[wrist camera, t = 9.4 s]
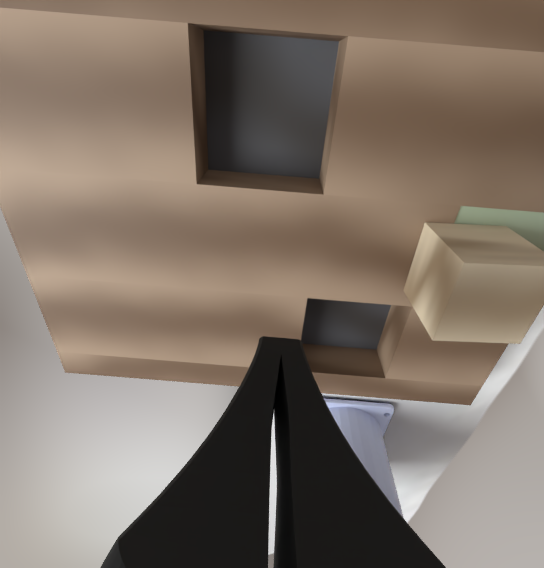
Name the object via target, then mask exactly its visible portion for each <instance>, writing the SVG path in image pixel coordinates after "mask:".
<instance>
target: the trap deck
mask: <svg viewBox="0 0 544 568" xmlns="http://www.w3.org/2000/svg"><path fill="white" fill-rule="evenodd" d="M0 207H1V210H2V212H3V215H4V217H5V220H6V223H7V225H8V227H9V230H10V233H11V235H12V238H13V240H14V243H15V246H16V248H17V250H18V253H19V256H20V258H21V261H22V263H23V266H24V268H25V271H26V273H27V276H28V278H29V281H30V284H31V286H32V288H33V291H34V294H35V296H36V299H37V301H38V304H39V307H40V309H41V312H42V314H43V317H44V319H45V322H46V324H47V327H48V329H49V332H50V335H51V337H52V340H53V342H54V345H55V347H56V350H57V352H58V355H59V357H60V359H61V363H62V365H63V368H64V370H65V372H67V373H79V374H91V375H104V376H117V377H129V378H141V379H154V380H166V381H178V382H190V383H203V384H215V385H227V386H240V385H241V383H242V381H243V379H244V377H245V375H246V373H247V371H248V369H249V367H250V365H251V362H252V360H253V358H254V355H255V352H256V349H257V346H258V343H259V338H261V337H262V336H267V337H278V338H290V339H299V340H300V341H301V342H302V344H303V348H304V352H305V355H306V358H307V361H308V363H309V366H310V369H311V371H312V374H313V376H314V378H315V381H316V383H317V385H318V387H319V390H320V392H321V393H326V394H339V395H351V396H364V397H376V398H388V399H401V400H413V401H425V402H438V403H450V404H463V405H471V403H472V402H473V400H474V399H475V397H476V395H477V394H478V392H479V390H480V389H481V387H482V386H483V384H484V382H485V381H486V379H487V378H488V376H489V374H490V373H491V371H492V370H493V368H494V366H495V365H496V363H497V361H498V360H499V358H500V357H501V355H502V353H503V352H504V350H505V349H506V347H507V345H508V344H509V343H487V342H460V341H433V340H432V339H431V337H430V335H429V334H428V332H427V330H426V329H425V327H424V325H423V323H422V322H421V320H420V318H419V317H418V315H417V313H416V311H415V310H414V308H413V306H412V305H411V303H410V301H409V299H408V298H407V296H406V294H405V293H404V291H403V290H404V287H405V284H406V281H407V277H408V274H409V271H410V268H411V265H412V261H413V258H414V255H415V252H416V249H417V246H418V242H419V239H420V236H421V233H422V230H423V227H424V223H425V222H427V223H450V224H472V225H495V226H507V227H508V228H510V229H511V230H513V231H514V232H516V233H517V234H519V235H520V236H521V237H523V238H524V239H526V240H527V241H529V242H530V243H532V244H533V245H535V246H536V247H538V248H539V249H541V250H542V251H544V0H0Z"/></svg>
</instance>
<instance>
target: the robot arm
mask: <svg viewBox="0 0 544 568" xmlns="http://www.w3.org/2000/svg"><path fill="white" fill-rule="evenodd" d="M273 413H274V417H275V442H276V466H277V502H276V526H275V548H274V568H446V567H445V566H444V565H443V564H442V563H441V561H440V560H439V559H438V558H437V557H436V556H435V555H434V554H433V552H432V551H431V550H430V549H429V548H428V547H427V546H426V545H425V544H424V542H423V541H422V540H421V539H420V538H419V536H418V535H417V534H416V533H415V532H414V531H413V529H412V528H411V527H410V526H409V525H408V524H407V522H406V521H405V520H404V518H403V514H402V510H401V506H400V502H399V499H398V495H397V491H396V487H395V483H394V479H393V475H392V471H391V467H390V463H389V459H388V456H387V452H386V448H385V444H384V440H383V436H384V434H385V431H386V429H387V427H388V424H389V422H390V420H391V417H392V415H393V413H394V407H393V405H391V404H387V403H374V402H362V401H349V400H337V399H325V398H323V396H322V394H321V392H320V390H319V387H318V385H317V383H316V381H315V378H314V376H313V374H312V371H311V369H310V366H309V363H308V361H307V358H306V355H305V352H304V348H303V344H302V342H301V341H300V340H299V339H290V338H278V337H267V336H262V337H261V338H259V343H258V346H257V349H256V352H255V355H254V358H253V360H252V362H251V365H250V367H249V369H248V371H247V373H246V375H245V377H244V379H243V381H242V383H241V385H240V387H239V388H238V390H237V392H236V394H235V395H234V397H233V399H232V400H231V402H230V404H229V405H228V407H227V409H226V411H225V412H224V413H223V415H222V417H221V418H220V420H219V421H218V422H217V424H216V425H215V427H214V428H213V430H212V431H211V433H210V434H209V435H208V437H207V438H206V439H205V441H204V442H203V443H202V444H201V446H200V447H199V448H198V450H197V451H196V452H195V454H194V455H193V456H192V458H191V459H190V460H189V461H188V462H187V464H186V465H185V466H184V467H183V468H182V470H181V471H180V472H179V473H178V474H177V475H176V477H175V478H174V479H173V480H172V481H171V482H170V483H169V484H168V486H167V487H166V488H165V489H164V490H163V492H162V493H161V494H160V495H159V496H158V497H157V498H156V499H155V500H154V501H153V502H152V503H151V504H150V505H149V506H148V507H147V509H146V510H145V511H143V512H142V514H141V515H140V516H139V517H138V518H137V519H136V520H135V521H134V522H133V523H132V524H131V525H130V526H129V527H128V528H127V529H126V530H125V531H124V532H123V533H122V534H121V535H120V536H119V537H118V539H117V540H116V542H115V544H114V545H113V547H112V549H111V550H110V552H109V554H108V555H107V557H106V559H105V560H104V562H103V564H102V566H101V568H268V532H269V489H270V455H271V427H272V420H273Z"/></svg>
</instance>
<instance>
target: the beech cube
mask: <svg viewBox="0 0 544 568" xmlns="http://www.w3.org/2000/svg"><path fill="white" fill-rule="evenodd" d="M403 291H404V293H405V294H406V296H407V298H408V299H409V301H410V303H411V305H412V306H413V308H414V310H415V311H416V313H417V315H418V317H419V318H420V320H421V322H422V323H423V325H424V327H425V329H426V330H427V332H428V334H429V335H430V337H431V339H432V340H433V341H460V342H487V343H514V344H520V343H521V341H522V340H523V338H524V336H525V335H526V333H527V331H528V330H529V328H530V326H531V325H532V323H533V322H534V320H535V318H536V317H537V315H538V313H539V312H540V310H541V309H542V307H543V305H544V251H542V250H541V249H539V248H538V247H536V246H535V245H533V244H532V243H530V242H529V241H527V240H526V239H524V238H523V237H521V236H520V235H519V234H517V233H516V232H514V231H513V230H511V229H510V228H508V227H507V226H495V225H472V224H450V223H427V222H425V223H424V227H423V230H422V233H421V236H420V239H419V242H418V246H417V249H416V252H415V255H414V258H413V261H412V265H411V268H410V271H409V274H408V277H407V281H406V284H405V287H404V290H403Z"/></svg>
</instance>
